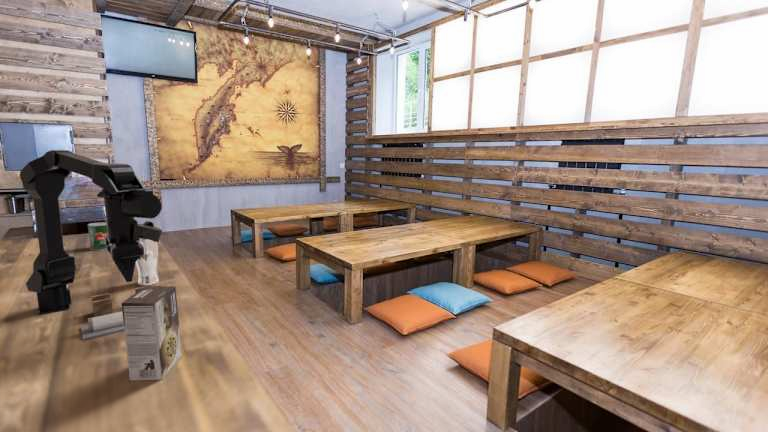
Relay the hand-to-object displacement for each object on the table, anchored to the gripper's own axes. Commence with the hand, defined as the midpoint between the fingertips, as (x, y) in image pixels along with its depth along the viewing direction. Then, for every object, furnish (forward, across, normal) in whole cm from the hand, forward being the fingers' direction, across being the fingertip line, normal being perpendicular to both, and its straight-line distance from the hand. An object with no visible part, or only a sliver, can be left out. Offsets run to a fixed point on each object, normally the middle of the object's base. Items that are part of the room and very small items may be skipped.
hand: (126, 276), depth 97 cm
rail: (+12, 0, 0) cm, 12 cm away
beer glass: (+12, +32, -9) cm, 35 cm away
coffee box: (+13, -27, -1) cm, 30 cm away
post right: (+12, +11, -5) cm, 17 cm away
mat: (+12, 0, 0) cm, 12 cm away
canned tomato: (+12, +95, -1) cm, 95 cm away
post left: (+12, +11, +5) cm, 17 cm away
